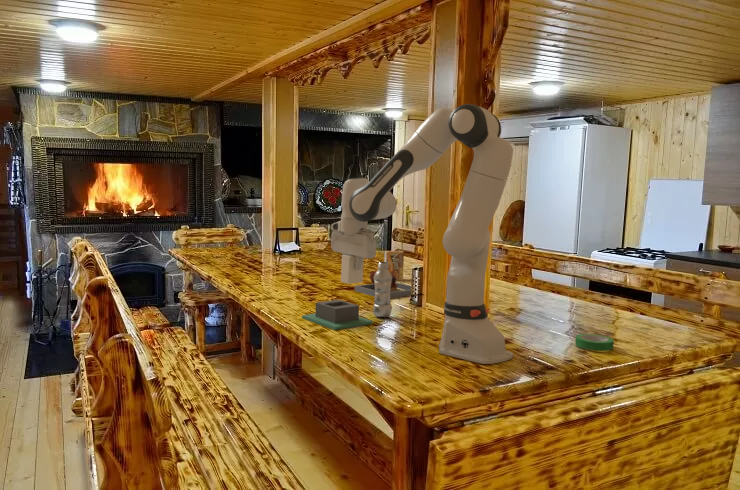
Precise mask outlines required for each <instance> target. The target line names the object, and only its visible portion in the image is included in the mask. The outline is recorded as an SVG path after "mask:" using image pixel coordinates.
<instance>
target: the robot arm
mask: <svg viewBox="0 0 740 490" xmlns="http://www.w3.org/2000/svg"><path fill="white" fill-rule="evenodd" d="M501 134H502V125H501V122H500V120H499V118H498V117H497V115H496V114H493V113H491V112H490V111H489V110H488V109H487V108H484V107H482V106H479V105H476V104H472V103H465V104H461V105H459V106H457V107H456V108H454V109H453V110H452V109H449V108H446V107H441V108H440V107H439V108H437V109H436V110H434V111H433V112H432V113H431V114H430V115H429V116H428V117H426V119H424V121H423V122H421V123H420V125H419V126H418V127H417V128H416V130H415V131H414V132H413V133H412V134H411V136H410V137H409V138H408V139H407V140H406V142H405V143H404V144H403V145H402V146H401V148H399V150H397V152H396V153H395V154H394V155H393V156H392V157H391V158H390V159H389V160H388V161H386V163H385V165H383V167H382V168H381V169H379V171H378V172H377V173H376V174H375V175H374V177H373V178H371V180H370V181H369V179H367V178H366V177H352V178H349V179H346V181H344V183H343V186H342V193H341V209H342V212H341V216H340V220H339V221H336V222H334V223H332V224H331V230H332V232H331V236H330V237H331V239H330V243H331V244H330V247H331V250H332V252H335V253H341V256H342V255H354V256H356V259H357V261H356V264H354V269H356V270H360V269H361V264H362V262H363V263H364V259H375V257H376V254H377V244H376V238H375V233H374V231H373V230H372V229H369V228H368V222H369V221H370V222H371V221H374V220H381V219H385V218H388V217H391V216H392V215H393V214H394V212H395V211H396V208H397V201H396V198H395V195H394V194H393V193H392V192H391V190H393V188H394V187H395V186H396V184H398V182H400V181H401V180H402V179H403V178H405V177H406V176H408V175H409V176H410V174H414V173H416V172H420V171H423V170H426V169H429V168H430V167H432V166H433V165H434V164H435V163H437V162H438V160H440V158H441V157H443V155H444V154H445V152H446V151H447V150H448V149H449V148H450V147H451V146H452V145H453V144H454V143H455V142H457V141H459V142H460V143H461V144H463V145H464V146H466V147H468V148H469V149H472V150H473V151H472V152H473V159H472V162H471V165H470V169H469V172H468V175H467V178H466V181H465V183H464V186H463V187H464V188H463V189H462V193H461V196H460V198H459V200H458V203H457V204H456V207H455V209H454V210H453V211H454V212H453V213H452V215H451V218H450V220H449V223H448V225H447V228H446V230H445V231H444V233H443V236H442V245H443V248H444V250H445V252H446V253H447V254H448V255H450V256H451V258H450V264H449V269H448V272H447V275H446V292H445V293H446V294H445V295H446V296H445V298H446V299H445V301H444V305H443V313H444V315H445V316H444V322H443V328H442V334H441V339H440V342H439V345H438V348H439V350H438V351H439V352H438V353H439V354H441V355H445V356H449V357H454V358H458V359H462V360H465V361H469V362H472V363H473V362H474V363H477V364H482V365H488V364H489V365H490V364H498V363H502V362H506V361H509V360H512V359H513V358H514V352H512V351H510V350H508V349H506V341H505V336H504V334H503V333H502V332H501V331H500V330H499V329H498V328H497V327H496V326H495V325H494V323H493V322H492V321H491V320H490V319H489V318H488V314H489V313H491V311H490V310H491V308H486V305H485V303H484V296H485V295H484V294H485V277H486V271H487V265H488V256H489V253H490V252H489V249H490V244H491V243H490V241H491V232H490V230H489V227H490V224H491V222H492V220H493V218H494V216H495V214H496V212H497V210H498V208H499V205H500V202H501V199H502V196H503V193H504V190H505V188H506V185H507V180H508V178H509V174H510V172H511V167H512V161H513V156H514V148H513V145H512V144H511V143H510V142H509V141H508V140H507V139H505V138H503V137H501Z"/></svg>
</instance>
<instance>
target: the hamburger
mask: <svg viewBox="0 0 740 490" xmlns="http://www.w3.org/2000/svg"><path fill="white" fill-rule="evenodd" d="M376 272H377V270H373V271H372V272H371V273H370V274H369V279H370V282H371V284H374V275H375V273H376ZM391 276H392V280H391V287H390V292H395V291H398V288H397V287H398V286H397V284H395V283H396V282H397V280H396V277H395V276H394V275H391ZM374 285H375V284H374Z"/></svg>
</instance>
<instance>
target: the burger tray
mask: <svg viewBox="0 0 740 490" xmlns="http://www.w3.org/2000/svg"><path fill="white" fill-rule="evenodd" d="M395 284H397V286H398V287H397V289H400V290H397V291H395V292H390V300H392V299H397V298H398V299H399V298H404V297H410V295H411V286H412V285H409V284H404V283H400V282H397V281H396V283H395ZM354 291H355V292H358V293H361V294H364V295H368V296H371V297H374V298H375V285H374V284H373V283H370V284H360V285H354Z"/></svg>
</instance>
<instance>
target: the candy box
mask: <svg viewBox="0 0 740 490" xmlns="http://www.w3.org/2000/svg"><path fill="white" fill-rule="evenodd" d="M404 256H405V252H404V251H403V250H384V261H383V262H388V263H389V268H388V270H389V272H390V273H391V275H394V276H395V277H396V281H403V280H404V260H405V259H404Z"/></svg>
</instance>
